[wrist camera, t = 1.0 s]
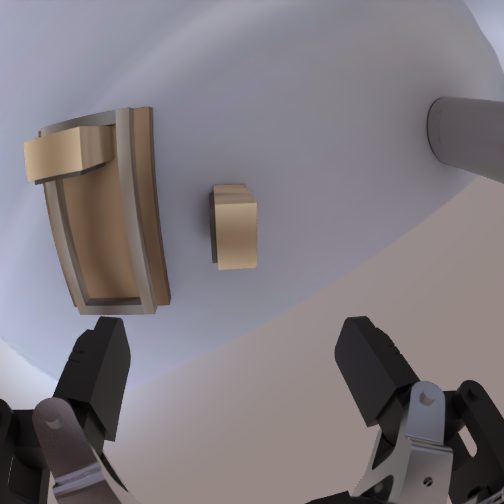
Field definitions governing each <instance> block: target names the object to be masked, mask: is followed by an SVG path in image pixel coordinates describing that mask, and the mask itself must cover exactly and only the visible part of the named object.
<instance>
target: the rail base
mask: <svg viewBox="0 0 504 504" xmlns="http://www.w3.org/2000/svg"><path fill="white" fill-rule="evenodd" d="M24 156H25V166H26V175H27V182H30V181H34V180H35V185H37V184H42V183H43V186H44V192H45V198H46V204H47V210H48V215H49V220H50V224H51V229H52V233H53V238H54V242H55V246H56V249H57V253H58V257H59V260H60V264H61V267H62V271H63V274H64V277H65V280H66V283H67V286H68V289H69V292H70V295H71V298H72V301H73V303H74V306H75V307H77V308H78V310H79V313H80V315H134V314H155V312H156V308H157V306H159V305H170V299H171V295H170V290H169V284H168V278H167V272H166V265H165V259H164V252H163V245H162V237H161V229H160V221H159V212H158V202H157V191H156V179H155V165H154V148H153V120H152V108H151V107H142V108H135V109H133V108H123V109H117V110H112V111H107V112H102V113H97V114H93V115H88V116H84V117H80V118H76V119H72V120H68V121H65V122H61V123H58V124H54V125H51V126H48V127H44V128H41V131H39V138H37V139H33V140H30V141H27V142H25V143H24Z"/></svg>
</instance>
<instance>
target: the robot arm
mask: <svg viewBox="0 0 504 504" xmlns="http://www.w3.org/2000/svg"><path fill="white" fill-rule="evenodd" d="M428 136H429V141H430V144H431V147H432V149H433V152H434V153H435V155H436V156H437V158H438V159H439V160H440V161H441V162H443V163H445V164H447V165H451V166H454V167H457V168H461V169H464V170H467V171H469V172H472V173H475V174H478V175H481V176H484V177H487V178H490V179H492V180H495V181H497V182H500V183H503V184H504V102H500V101H491V100H481V99H468V98H448V97H444V98H440V99H438V100H437V101H435V103H434V104H433V105H432V107H431V109H430V112H429V116H428ZM72 350H73V351H72V352H71V354H70V356H69V358H68V361H67V363H66V365H65V367H64V370H63V372H62V374H61V377H60V379H59V382H58V384H57V387H56V389H55V392H54V394H53V397H52V398H47V399H45V400H42V401H41V402H40V403H39V404H37V406H36V407H35V409H34V410H12V409H11V408H10V407H9V405H8V404H7V403H6V402H5V401H4V400H2V399H0V504H47V497H48V487H49V478H50V471H51V472H52V475H53V477H54V480H55V485H54V486H53V493H54V496H55V498H56V500H57V502H58V504H141V503H140V502H139V501H138V500H137V499H136V498H135V497H134V495H133V494H132V493H131V492H130V490H129V489H128V488H127V486H126V485H125V484H124V482H123V481H122V479H121V478H120V476H119V475H118V473H117V472H116V470H115V469H114V467H113V466H112V464H111V462H110V461H109V459H108V457H107V456H106V454H105V453H104V451H103V444H104V440H109V441H114V442H115V437H116V431H117V426H118V420H119V414H120V409H121V404H122V399H123V395H124V390H125V385H126V381H127V376H128V372H129V368H130V361H131V355H130V348H129V344H128V341H127V337H126V332H125V328H124V324H123V321H122V319H121V318H116V317H104V316H101V317H100V318H99V319H98V321H97V323H96V326H95V328H94V330H88V329H87V330H86V331H85V332H84V333H83V334H82V335H81V336H80V337H79V338H78V339H77V341H76V343H75V345H74V347H73V349H72ZM335 360H336V363H337V365H338V367H339V369H340V371H341V373H342V375H343V377H344V379H345V381H346V383H347V385H348V387H349V390H350V392H351V394H352V396H353V398H354V400H355V402H356V404H357V406H358V408H359V410H360V412H361V414H362V417H363V419H364V421H365V423H366V425H367V427H371V426H374V425H377V424H379V426H380V427H381V428H380V430H379V431H378V434H377V437H376V440H375V444H374V447H373V451H372V454H371V457H370V460H369V463H368V466H367V469H366V472H365V474H364V476H363V477H362V479H361V480H360V481H359V483H358V484H357V486H356V488H355V489H354V492H353V494H352V496H350V495H349V492H348V491H345V492H342V493H338V494H335V495H331V496H327V497H324V498H320V499H316V500H312V501H310V502H308V503H306V504H446V502H447V496H448V494H449V497H450V499H451V502H452V504H504V419H503V417H502V415H501V414H500V412H499V411H498V409H497V408H496V406H495V404H494V403H493V402H492V400H491V399H490V397H489V395H488V394H487V393H486V391H485V390H484V388H483V387H482V386H481V385H480V384H479V383H477V382H475V381H472V380H467V381H464V382H463V383H462V384H461V385H460V387H459V388H458V389H457V391H442V390H441V389H440V388H439V387H438V386H437V385H436V384H434V383H431V382H429V381H420V380H419V378H418V377H417V375H416V374H415V373H414V371H413V370H412V368H411V367H410V365H409V364H408V363H407V361H406V360H405V358H404V357H403V355H402V354H400V351H399V350H398V348H397V347H396V346H394V343H393V342H392V340H391V339H390V338H389V336H388V335H387V334H385V333H384V332H383V331H382V330H380V329H379V328H375V326H374V325H373V323H372V322H371V321H370V319H369V318H368V317H367V316H359V317H348V318H347V319H346V320H345V322H344V324H343V328H342V330H341V333H340V336H339V338H338V341H337V344H336V347H335ZM465 425H466V427H467V428H468V431H469V432H470V434H471V436H472V438H473V440H474V441H475V443H476V445H477V453H476V455H475V456H474V457H472V456H470V454H469V452H468V450H467V449H466V446H465V445H464V443H463V441H462V439H461V437H460V435H459V433H458V432H459V431H460V430H461V429H462V428H463V427H464V426H465ZM12 457H13V460H12ZM11 462H12V465H11ZM10 467H11V470H10ZM9 473H10V475H9ZM8 479H9V482H8Z"/></svg>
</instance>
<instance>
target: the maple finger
mask: <svg viewBox="0 0 504 504" xmlns="http://www.w3.org/2000/svg"><path fill="white" fill-rule="evenodd" d="M209 207H210V228H211V245H212V260H213V263H218V270H230V269H245V268H257V202H256V200H255V199H254V197H253V195H252V194H251V192H250V191H249V189H248V188H247V186H246V185H245V184H237V185H214V193H210V194H209Z"/></svg>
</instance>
